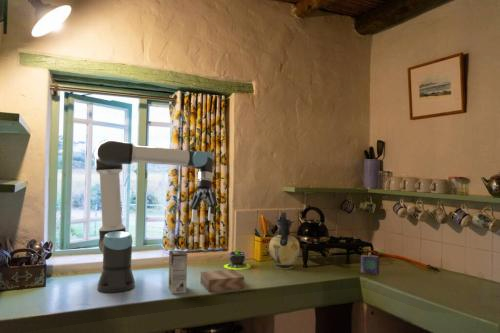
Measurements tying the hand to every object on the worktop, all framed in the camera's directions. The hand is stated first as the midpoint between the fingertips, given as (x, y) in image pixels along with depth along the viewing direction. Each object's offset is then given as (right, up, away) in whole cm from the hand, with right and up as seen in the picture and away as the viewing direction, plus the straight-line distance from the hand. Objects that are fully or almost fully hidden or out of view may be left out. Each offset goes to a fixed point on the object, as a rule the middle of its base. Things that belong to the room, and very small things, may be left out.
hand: (201, 221), depth 181 cm
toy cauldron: (+18, -28, +15) cm, 36 cm away
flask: (+87, -28, +5) cm, 92 cm away
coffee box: (-7, -25, -29) cm, 39 cm away
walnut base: (+12, -25, -22) cm, 36 cm away
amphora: (+43, -28, +15) cm, 54 cm away
